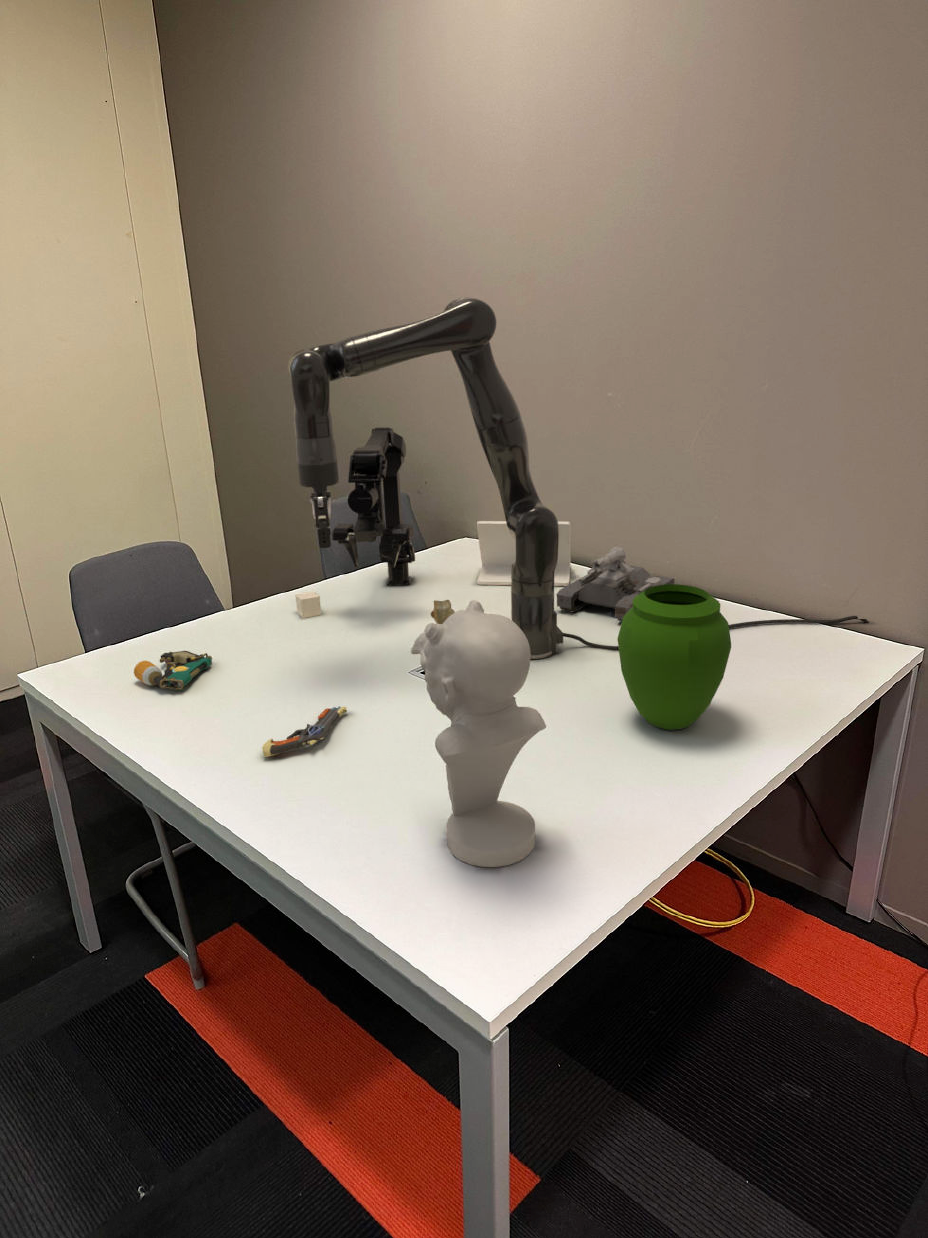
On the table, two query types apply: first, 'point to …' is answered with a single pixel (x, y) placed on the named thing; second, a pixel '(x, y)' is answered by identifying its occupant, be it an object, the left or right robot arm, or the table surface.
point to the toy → (609, 585)
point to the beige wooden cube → (308, 604)
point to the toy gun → (305, 733)
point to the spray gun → (172, 669)
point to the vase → (673, 653)
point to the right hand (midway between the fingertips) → (325, 541)
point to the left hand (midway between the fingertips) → (375, 566)
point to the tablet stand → (514, 553)
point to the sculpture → (441, 611)
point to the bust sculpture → (481, 729)
